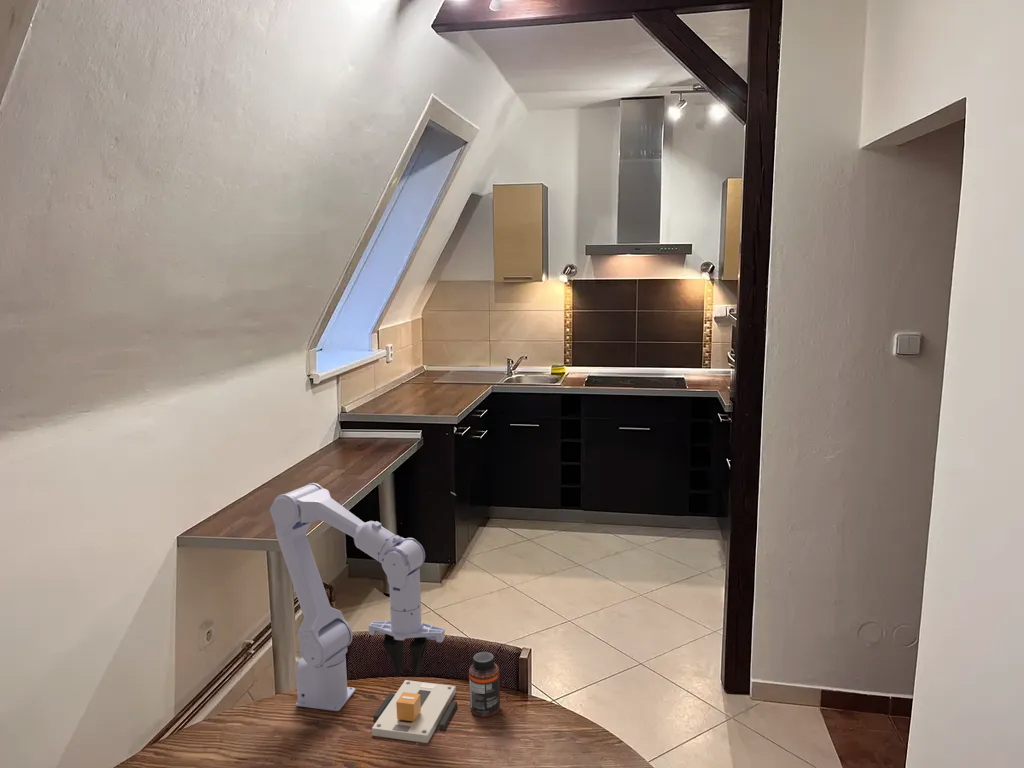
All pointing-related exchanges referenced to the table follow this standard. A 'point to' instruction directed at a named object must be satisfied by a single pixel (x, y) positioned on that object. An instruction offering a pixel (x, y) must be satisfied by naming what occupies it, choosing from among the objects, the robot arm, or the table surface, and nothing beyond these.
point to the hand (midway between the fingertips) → (408, 672)
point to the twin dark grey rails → (442, 723)
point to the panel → (432, 711)
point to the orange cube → (408, 706)
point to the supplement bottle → (484, 685)
